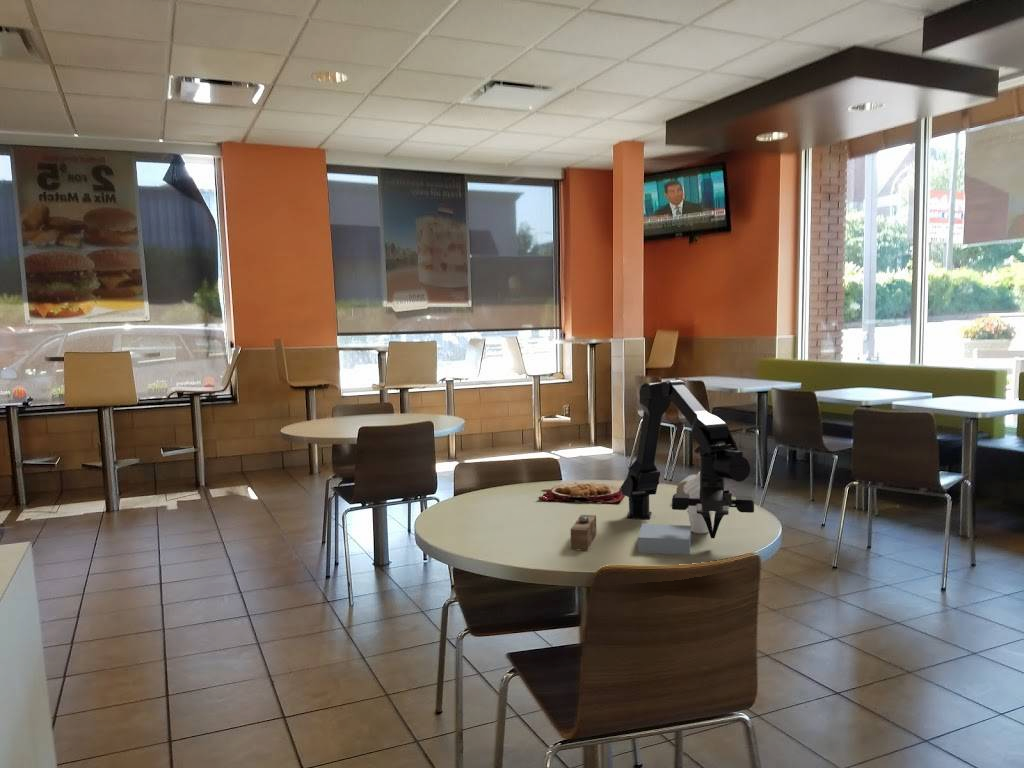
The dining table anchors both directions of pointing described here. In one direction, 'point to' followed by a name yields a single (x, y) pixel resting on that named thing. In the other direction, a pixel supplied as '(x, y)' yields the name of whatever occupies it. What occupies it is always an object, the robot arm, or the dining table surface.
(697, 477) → the soft serve ice cream cone
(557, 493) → the plate with food
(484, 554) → the dining table surface
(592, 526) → the walnut bench dog
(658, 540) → the blue-grey square block
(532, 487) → the dining table surface
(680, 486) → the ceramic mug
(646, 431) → the robot arm
